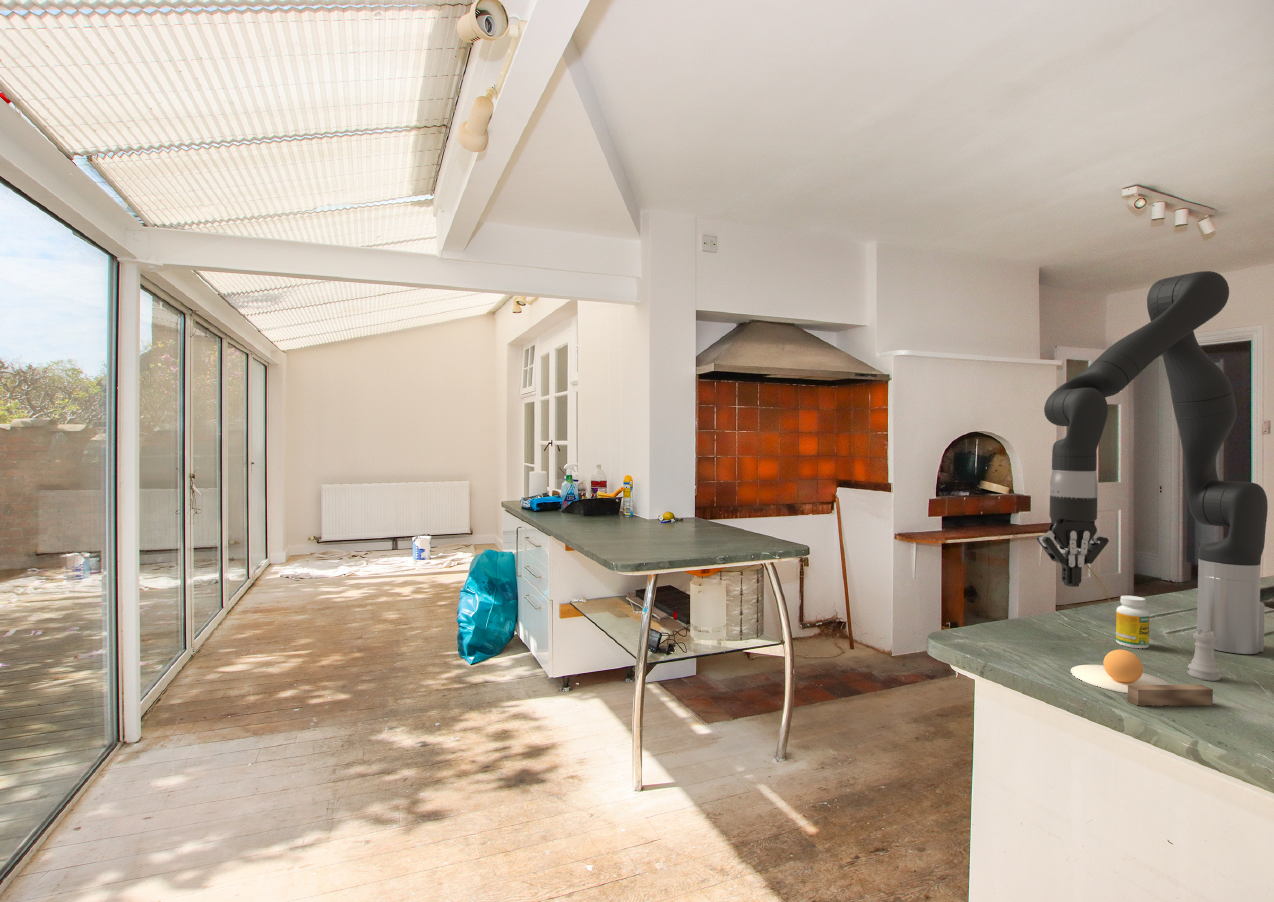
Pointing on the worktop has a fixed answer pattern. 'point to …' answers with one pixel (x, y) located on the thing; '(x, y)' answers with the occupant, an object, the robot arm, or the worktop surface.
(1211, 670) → the rook chess piece
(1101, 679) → the disc
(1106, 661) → the egg
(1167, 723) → the worktop surface
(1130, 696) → the rail
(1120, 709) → the worktop surface
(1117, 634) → the supplement bottle
